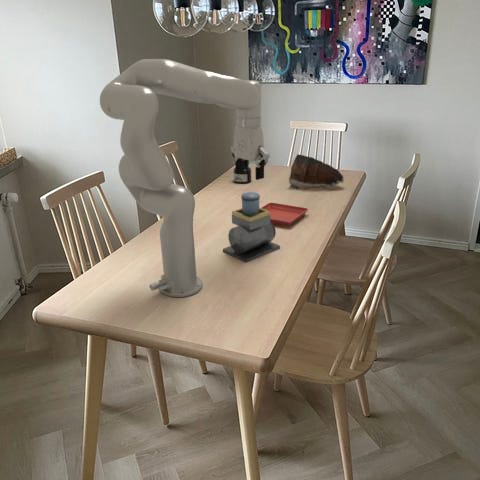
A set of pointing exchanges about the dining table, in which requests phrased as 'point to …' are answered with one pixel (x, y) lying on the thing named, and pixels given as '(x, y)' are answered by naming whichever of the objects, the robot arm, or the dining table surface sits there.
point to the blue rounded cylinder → (250, 203)
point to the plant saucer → (284, 213)
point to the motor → (251, 235)
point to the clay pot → (313, 173)
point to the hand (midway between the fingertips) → (249, 175)
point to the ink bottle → (243, 174)
